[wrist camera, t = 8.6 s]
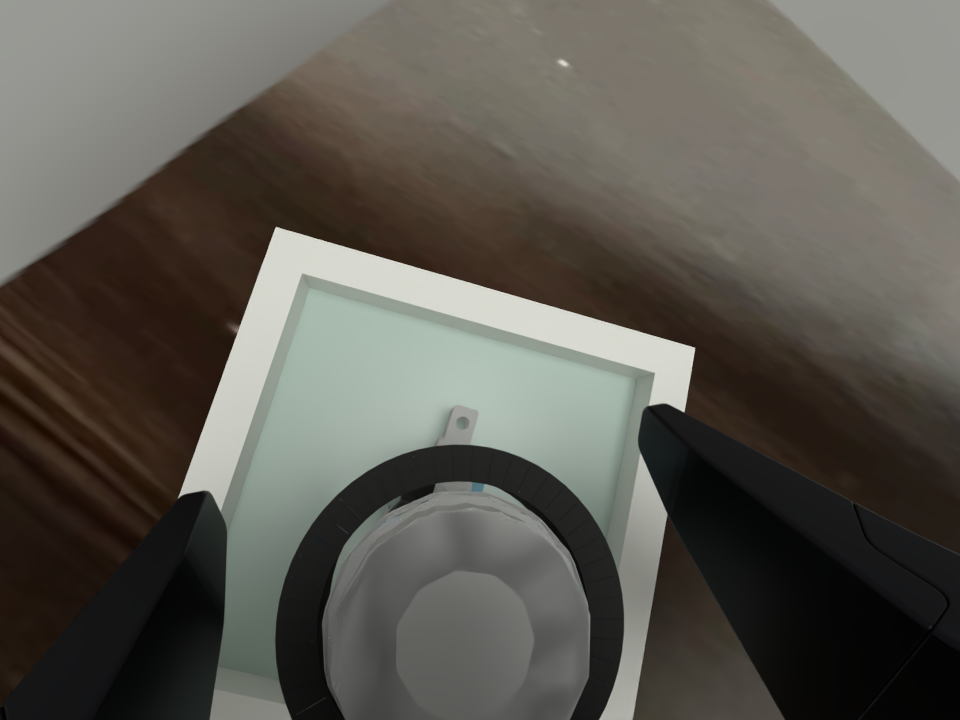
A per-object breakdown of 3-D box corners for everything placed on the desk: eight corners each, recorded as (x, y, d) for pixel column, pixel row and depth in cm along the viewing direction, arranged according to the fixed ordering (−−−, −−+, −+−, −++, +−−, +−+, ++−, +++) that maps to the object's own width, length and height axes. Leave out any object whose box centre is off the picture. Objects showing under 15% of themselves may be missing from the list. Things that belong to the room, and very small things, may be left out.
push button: (385, 387, 18) (368, 308, 8) (540, 435, 18) (704, 416, 8) (316, 599, 16) (191, 818, 7) (485, 643, 17) (603, 911, 7)
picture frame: (588, 779, 17) (614, 824, 15) (139, 684, 16) (98, 718, 14) (664, 360, 20) (695, 347, 18) (290, 253, 19) (275, 227, 17)
